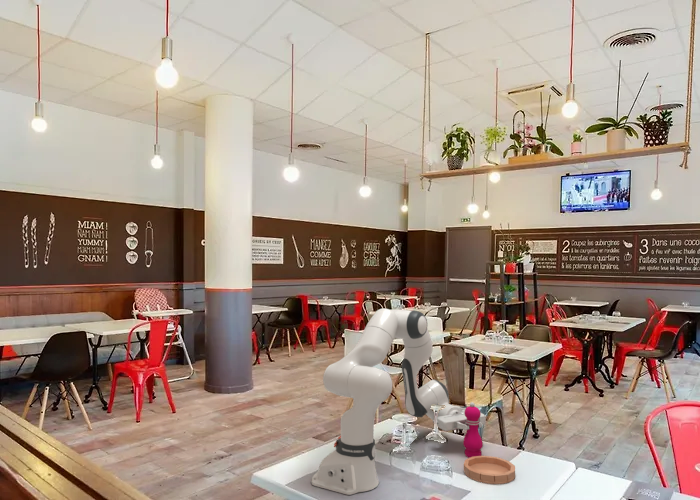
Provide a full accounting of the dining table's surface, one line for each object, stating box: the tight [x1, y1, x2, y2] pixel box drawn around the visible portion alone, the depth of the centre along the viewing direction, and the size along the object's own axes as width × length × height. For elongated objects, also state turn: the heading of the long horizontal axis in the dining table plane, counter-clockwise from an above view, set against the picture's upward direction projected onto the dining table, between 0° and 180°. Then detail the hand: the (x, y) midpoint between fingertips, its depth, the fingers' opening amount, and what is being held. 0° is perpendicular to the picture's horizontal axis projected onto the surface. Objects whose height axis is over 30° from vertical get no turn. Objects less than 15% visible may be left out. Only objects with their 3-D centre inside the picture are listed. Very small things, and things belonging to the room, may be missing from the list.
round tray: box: [463, 455, 516, 485], centre depth 170 cm, size 17×17×3 cm
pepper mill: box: [462, 401, 484, 458], centre depth 187 cm, size 7×7×20 cm
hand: (474, 426), depth 186 cm, fingers closed on pepper mill, 5 cm apart
